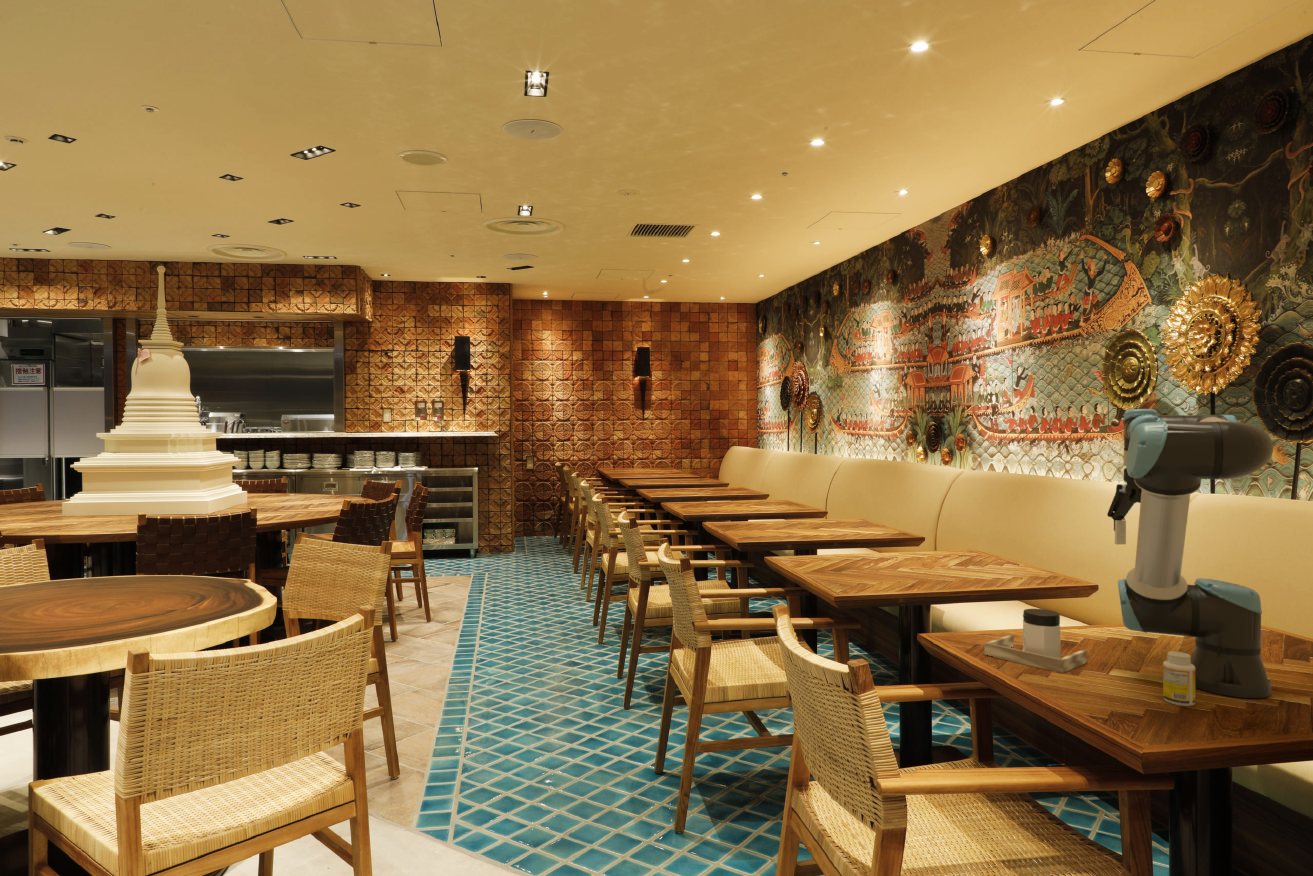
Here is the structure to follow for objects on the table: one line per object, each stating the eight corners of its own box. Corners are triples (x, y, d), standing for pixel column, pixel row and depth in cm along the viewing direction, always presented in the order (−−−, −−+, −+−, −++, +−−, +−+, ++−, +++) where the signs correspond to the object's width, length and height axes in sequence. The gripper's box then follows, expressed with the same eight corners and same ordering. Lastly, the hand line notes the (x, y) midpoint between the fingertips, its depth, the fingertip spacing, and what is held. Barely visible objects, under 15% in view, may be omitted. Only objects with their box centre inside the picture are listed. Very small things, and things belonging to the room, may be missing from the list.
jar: (1021, 653, 191) (1021, 607, 191) (1056, 657, 188) (1056, 609, 189) (1025, 663, 183) (1025, 614, 183) (1062, 667, 180) (1062, 617, 180)
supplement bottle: (1180, 697, 159) (1180, 649, 159) (1202, 707, 153) (1202, 657, 153) (1156, 698, 158) (1156, 650, 158) (1177, 707, 153) (1177, 658, 153)
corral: (1009, 646, 198) (1009, 634, 198) (1086, 662, 184) (1086, 650, 184) (984, 655, 190) (984, 643, 190) (1062, 673, 175) (1062, 660, 175)
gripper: (1193, 469, 184) (1193, 554, 184) (1116, 465, 209) (1116, 541, 209) (1167, 469, 183) (1167, 555, 183) (1092, 465, 208) (1092, 541, 208)
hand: (1140, 548), depth 196 cm, fingers open, 13 cm apart
